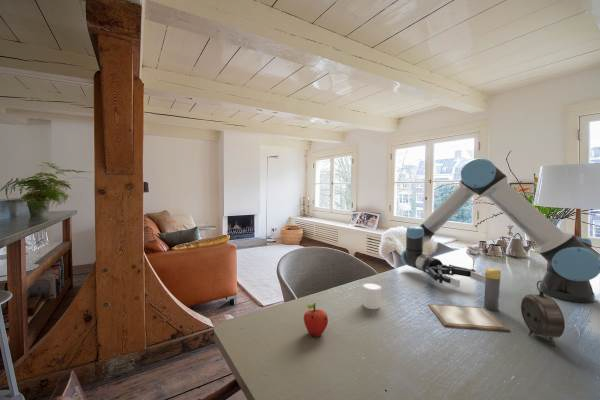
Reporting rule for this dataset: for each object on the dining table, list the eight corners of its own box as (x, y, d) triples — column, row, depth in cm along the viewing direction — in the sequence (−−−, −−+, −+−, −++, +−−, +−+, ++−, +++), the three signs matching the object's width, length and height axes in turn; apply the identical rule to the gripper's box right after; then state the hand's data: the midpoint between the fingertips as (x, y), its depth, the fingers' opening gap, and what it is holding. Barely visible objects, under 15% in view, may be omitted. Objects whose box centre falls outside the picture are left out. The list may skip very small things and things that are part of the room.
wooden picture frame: (483, 309, 90) (483, 307, 90) (510, 331, 76) (510, 329, 76) (428, 305, 93) (428, 303, 93) (444, 326, 79) (444, 324, 79)
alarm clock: (564, 350, 68) (569, 289, 67) (540, 347, 69) (544, 287, 68) (536, 328, 78) (539, 274, 78) (515, 326, 80) (518, 273, 79)
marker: (494, 306, 93) (496, 268, 92) (501, 311, 89) (503, 272, 88) (481, 305, 93) (483, 267, 92) (487, 310, 89) (489, 271, 88)
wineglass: (484, 274, 126) (486, 249, 125) (470, 274, 126) (471, 249, 126) (475, 269, 133) (476, 246, 132) (462, 269, 133) (463, 246, 132)
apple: (303, 327, 78) (304, 294, 77) (326, 327, 78) (327, 294, 77) (303, 342, 70) (303, 306, 70) (328, 343, 70) (329, 306, 70)
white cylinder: (382, 303, 94) (383, 284, 94) (379, 311, 88) (380, 291, 87) (363, 299, 97) (363, 281, 97) (359, 307, 91) (359, 287, 90)
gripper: (451, 271, 121) (497, 288, 101) (405, 276, 114) (446, 296, 93) (451, 254, 121) (498, 269, 100) (406, 259, 113) (446, 275, 93)
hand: (473, 282), depth 97 cm, fingers open, 13 cm apart
